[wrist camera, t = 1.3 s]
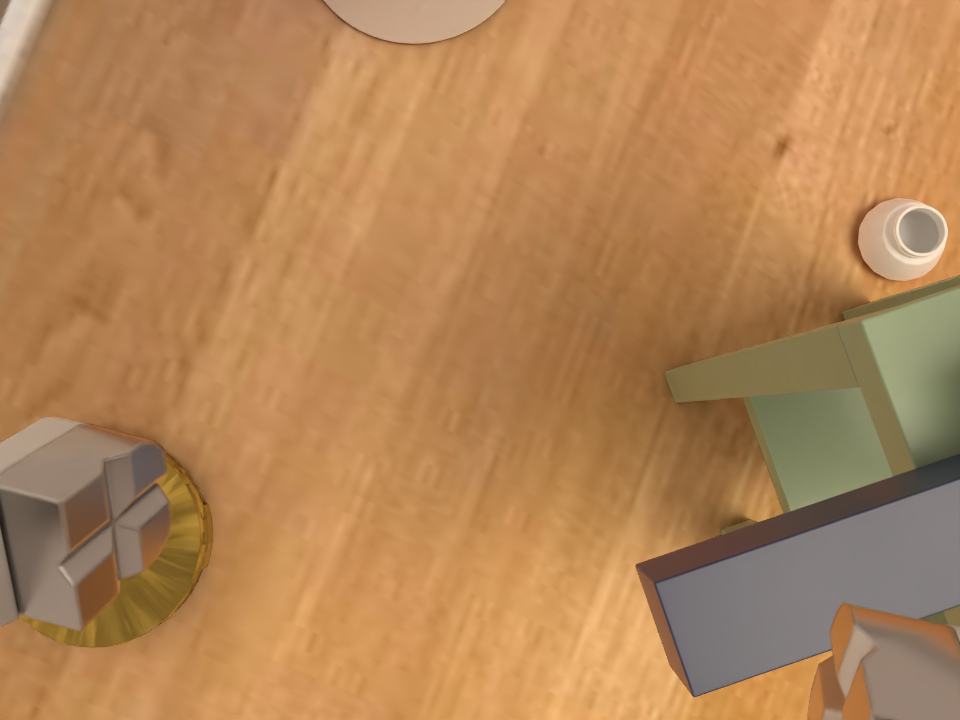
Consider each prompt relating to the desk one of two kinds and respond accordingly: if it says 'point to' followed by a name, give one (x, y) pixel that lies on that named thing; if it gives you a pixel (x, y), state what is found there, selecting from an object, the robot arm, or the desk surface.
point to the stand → (847, 397)
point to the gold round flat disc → (152, 574)
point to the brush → (806, 576)
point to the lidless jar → (902, 239)
